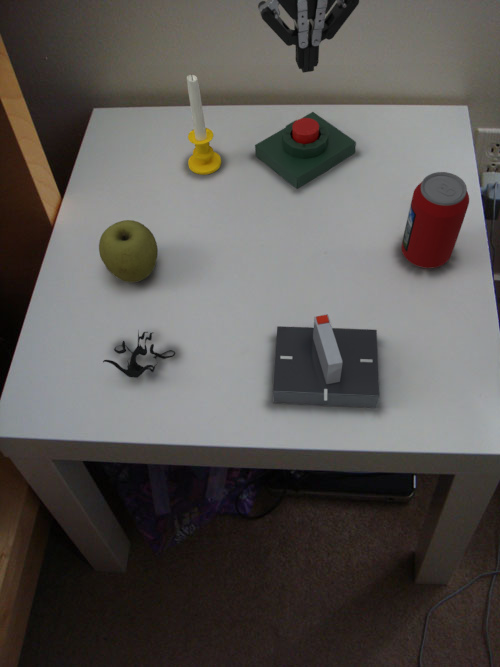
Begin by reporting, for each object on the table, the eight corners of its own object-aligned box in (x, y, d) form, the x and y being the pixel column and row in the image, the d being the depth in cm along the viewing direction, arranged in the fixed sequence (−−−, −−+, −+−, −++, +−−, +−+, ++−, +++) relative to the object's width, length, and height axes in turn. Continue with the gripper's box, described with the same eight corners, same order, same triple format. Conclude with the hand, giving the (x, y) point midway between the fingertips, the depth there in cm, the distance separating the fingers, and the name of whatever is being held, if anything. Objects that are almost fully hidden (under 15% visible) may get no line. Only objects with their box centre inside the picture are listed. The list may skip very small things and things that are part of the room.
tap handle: (340, 382, 68) (343, 361, 64) (326, 384, 68) (328, 363, 64) (325, 335, 72) (327, 312, 68) (312, 337, 72) (314, 315, 68)
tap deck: (373, 337, 75) (376, 322, 72) (376, 414, 69) (379, 402, 67) (277, 333, 76) (277, 319, 73) (273, 409, 70) (272, 397, 68)
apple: (154, 241, 86) (144, 205, 80) (169, 282, 82) (160, 247, 76) (102, 257, 85) (88, 222, 79) (115, 299, 81) (101, 265, 75)
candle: (223, 152, 95) (212, 62, 82) (219, 175, 93) (207, 85, 80) (191, 152, 96) (175, 62, 83) (186, 174, 93) (169, 85, 80)
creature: (123, 338, 78) (102, 384, 73) (116, 308, 75) (93, 353, 69) (181, 345, 77) (164, 391, 72) (176, 314, 74) (158, 361, 68)
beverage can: (420, 227, 84) (437, 160, 74) (460, 251, 82) (484, 185, 72) (390, 253, 82) (403, 188, 72) (430, 280, 79) (450, 216, 69)
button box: (312, 122, 98) (313, 101, 95) (355, 153, 94) (357, 132, 90) (255, 156, 95) (254, 135, 91) (296, 189, 90) (297, 168, 87)
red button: (306, 123, 93) (306, 114, 91) (324, 136, 91) (324, 126, 89) (286, 135, 91) (286, 125, 90) (304, 148, 90) (304, 138, 88)
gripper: (258, -48, 65) (264, 93, 79) (377, -66, 66) (361, 77, 80) (246, -79, 69) (254, 60, 83) (358, -96, 70) (346, 45, 84)
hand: (306, 68), depth 82 cm, fingers closed
